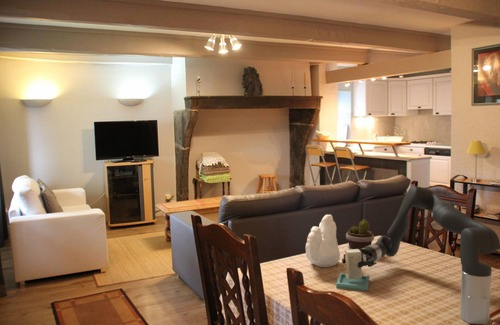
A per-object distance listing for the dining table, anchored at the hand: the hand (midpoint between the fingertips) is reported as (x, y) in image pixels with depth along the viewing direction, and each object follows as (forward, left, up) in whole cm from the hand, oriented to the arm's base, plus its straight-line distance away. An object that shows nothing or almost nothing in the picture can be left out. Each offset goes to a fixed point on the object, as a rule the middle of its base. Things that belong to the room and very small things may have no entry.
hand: (350, 263), depth 182 cm
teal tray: (+2, -1, -10) cm, 10 cm away
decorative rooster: (+21, +17, -10) cm, 29 cm away
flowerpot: (+47, -1, -10) cm, 48 cm away
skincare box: (+2, -1, -7) cm, 8 cm away
